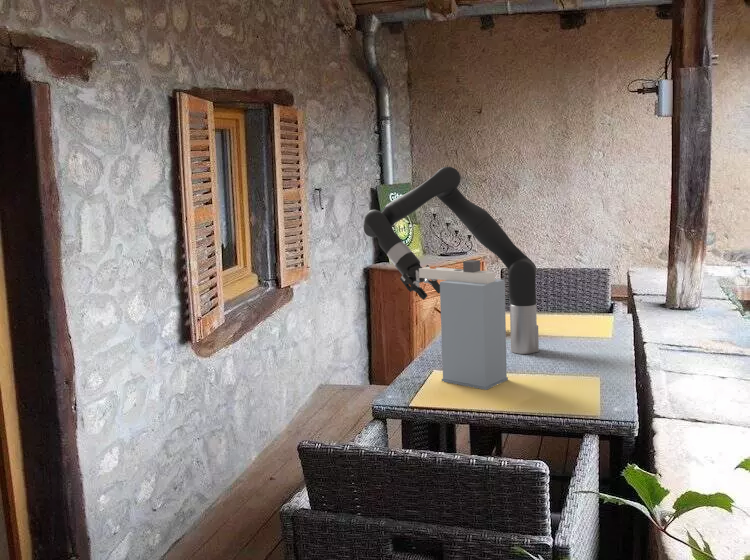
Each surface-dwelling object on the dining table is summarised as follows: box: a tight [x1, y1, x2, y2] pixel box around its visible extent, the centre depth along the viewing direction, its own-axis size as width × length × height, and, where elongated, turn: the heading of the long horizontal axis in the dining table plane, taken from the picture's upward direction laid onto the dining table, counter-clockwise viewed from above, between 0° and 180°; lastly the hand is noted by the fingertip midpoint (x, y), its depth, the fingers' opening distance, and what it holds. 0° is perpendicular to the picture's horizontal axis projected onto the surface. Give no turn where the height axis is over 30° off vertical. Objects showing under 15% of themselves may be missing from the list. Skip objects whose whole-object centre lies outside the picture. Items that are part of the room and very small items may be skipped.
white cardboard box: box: [419, 259, 496, 284], centre depth 242 cm, size 26×4×6 cm, turn 49°
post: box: [439, 278, 509, 391], centre depth 241 cm, size 17×13×32 cm
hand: (433, 294), depth 254 cm, fingers open, 8 cm apart
